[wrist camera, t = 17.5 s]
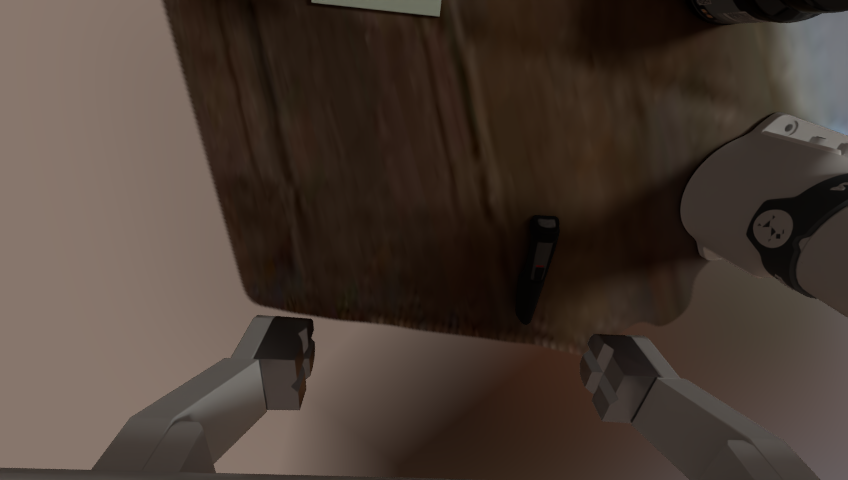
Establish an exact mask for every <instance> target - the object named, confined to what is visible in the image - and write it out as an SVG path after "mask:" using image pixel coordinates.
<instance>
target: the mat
mask: <svg viewBox="0 0 848 480" xmlns="http://www.w3.org/2000/svg"><path fill="white" fill-rule="evenodd" d="M311 2H312V3H319V4H328V5H337V6H346V7H355V8H364V9H374V10H383V11H392V12H401V13H410V14H419V15H428V16H437V17H439V16H440V6H441V0H311Z"/></svg>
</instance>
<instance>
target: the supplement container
mask: <svg viewBox="0 0 848 480" xmlns="http://www.w3.org/2000/svg"><path fill="white" fill-rule="evenodd" d="M685 2H686V4H687V6H688V8H689V9H690V11H691V12H692V13H693V14H694V15H695V16H696V17H697V18H699V19H700V20H702V21H704V22H706V23H710V24H714V25H731V24H738V23H757V22H777V23H792V22H799V21H803V20H807V19H810V18H813V17H815V16H818V15H820V14H822V13H836V12H843V11H848V0H685Z"/></svg>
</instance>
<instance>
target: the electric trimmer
mask: <svg viewBox="0 0 848 480" xmlns="http://www.w3.org/2000/svg"><path fill="white" fill-rule="evenodd" d="M530 231H531V244H530V249H529V254H528V258H527V262H526V265H525V269H524V271H523V272H521V273H520V274H519V278H518V288H517V299H516V315H517V317H518V318H519V320H520V321H521V322H522V323H523V324H525V325H527V324H529V323H530V322H531V319H532V316H533V313H534V310H535V308H536V305H537V302H538V299H539V296H540V293H541V290H542V287H543V284H544V281H545V277H546V274H547V272H548V269H549V266H550V263H551V260H552V257H553V254H554V251H555V247H556V244H557V240H558V236H559V232H560V230H559V219H558V218H557V217H555V216H539V215H535V216H534V217H533V220H531V221H530Z"/></svg>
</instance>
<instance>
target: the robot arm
mask: <svg viewBox="0 0 848 480" xmlns="http://www.w3.org/2000/svg"><path fill="white" fill-rule="evenodd" d="M786 126H787V127H786ZM785 127H786V128H785ZM680 213H681V220H682V223H683V225H684V227H685V229H686V230H687V232H688V233H689V234H690V235H691V236H692V237H693V238H694V239H695V240H696V242H697V246H698V251H699V254H700V255H701V256H702V257H703V258H705V259H707V260H720V259H724V260H726V261H727V262H729V263H731V264H733V265H734V266H736V267H738V268H739V269H741V270H743V271H745V272H746V273H748V274H750V275H752V276H754V277H756V278H760V279H761V278H771V277H775V278H776V279H778V280H779V281H780V282H781V283H782V284H784V285H785V286H787V287H789V288H791V289H792V290H795V291H797V292H799V293H801V294H803V295H805V296H807V297H810V298H815V299H819V300H820V301H822V302H824V303H825V304H827V305H828V306H830V307H832V308H833V309H835V310H837V311H838V312H839V313H841V314H843V315H844V316H846V317H848V136H847V135H844V134H841V133H839V132H836V131H833V130H830V129H827V128H825V127H822V126H819V125H816V124H813V123H811V122H808V121H805V120H802V119H800V118H797V117H794V116H791V115H788V114H785V113H782V112H778V113H775V114H772V115H771V116H769V117H768V118H767V119H765V120H764V121H763V122H762V123H760V124H759V125H758V126H757V127H756V128H755V129H754V130H753V131H751V132H750V133H748V134H746V135H744V136H742V137H740V138H738V139H736V140H734V141H732V142H730V143H728V144H726V145H725V146H723V147H721V148H720V149H719V150H717V151H716V152H714V153H713V154H712V155H711V156H710V157H709V158H707V159H706V160H705V161H704V162H703V163H702V164H701V166H700V167H699V168H698V169H697V170H696V172H695V173H694V174H693V176H692V177H691V179H690V181H689V182H688V184H687V186H686V188H685V191H684V193H683V196H682V200H681V207H680ZM313 331H314V327H313V320H312V319H307V318H294V317H293V318H292V317H281V316H276V317H275V316H263V315H257V316H256V317H255V318H253V320H252V322H251V323H250V325H249V327H248V329H247V330H246V332H245V334H244V336H243V337H242V339H241V341H240V343H239V344H238V346H237V348H236V350H235V351H234V353H233V355H232V357H231V358H224V359H223V360H221V361H219V362H218V363H216V364H215V365H213V366H211V367H210V368H208V369H207V370H205V371H204V372H202V373H200V374H199V375H197V376H196V377H194V378H192V379H191V380H189V381H188V382H186V383H184V384H183V385H181V386H180V387H178V388H177V389H175V390H173V391H172V392H170V393H169V394H167V395H166V396H164V397H162V398H161V399H159V400H158V401H156V402H154V403H153V404H152V405H150V406H148V407H146V408H145V409H143V410H142V411H140V412H138V413H137V414H135V415H134V416H132V417H131V418H130V419H129V420H128V421H127V423H126V424H125V425H124V427H123V428H122V429H121V431H120V432H119V433H118V435H117V436H116V437H115V439H114V440H113V441H112V443H111V444H110V445H109V447H108V448H107V449H106V451H105V452H104V453H103V455H102V456H101V457H100V459H99V460H98V462H97V463H96V464H95V465H94V467H93V468H92V470H68V469H67V470H66V469H27V468H0V480H469V479H430V478H390V477H350V476H311V475H271V474H270V475H269V474H230V473H229V474H228V473H216V472H215V468H214V465H213V464H214V463H215V462H216V461H217V460H218V459H219V458H220V457H221V456H222V455H223V454H224V453H225V452H226V451H227V450H228V449H229V448H230V447H231V446H232V445H233V444H234V443H236V442H237V441H238V440H239V438H241V437H242V436H243V435H244V434H245V433H246V431H248V430H249V429H250V428H251V427H252V426H253V425H254V424H255V423H256V422H257V421H258V420H259V419H260V418H261V417H262V416H263V415H264V414H265V413H266V412H267V410H300V407H301V404H302V401H303V398H304V395H305V391H306V381H305V380H306V379H307V378H308V377H309V376H310V375H311V371H312V368H313V362H314V356H315V342H314V341H313V340H312V339H311V337H312V334H313ZM588 346H589V348H590V350H589V351H588V352H586V353H585V354H584V355H583V356H582V359H581V362H580V375H581V379H582V381H583V384H584V386H585V388H587V389H588V390H589V391H590V392H592V393H593V394H594V395H593V398H592V402H593V404H594V406H595V408H596V410H597V412H598V414H599V416H600V418H601V420H602V421H607V422H622V423H632V426H633V427H635V429H637V431H639V432H640V433H641V434H642V435H643V436H644V437H645V438H646V439H647V440H648V441H649V442H650V443H651V444H652V445H653V446H654V447H655V448H657V449H658V450H659V451H660V452H661V453H662V454H663V455H664V456H665V457H666V458H667V459H668V460H669V461H670V462H671V463H672V464H673V465H674V466H676V467H677V468H678V469H679V470H680V471H681V472H682V473H683V474H684V475H685V476H686V477H687V478H688V479H689V480H820V479H819V478H818V477H817V476H816V475H815V473H814V472H813V471H812V470H811V469H810V468H809V467H808V466H807V465H806V464H805V463H804V462H803V460H802V459H801V458H800V457H799V456H798V455H797V454H796V453H795V452H794V451H793V450H792V449H791V447H790V446H789V445H788V444H787V443H786V442H785V441H784V440H782V439H781V438H779V437H777V436H776V435H774V434H773V433H771V432H770V431H768V430H766V429H765V428H763V427H762V426H760V425H758V424H757V423H755V422H754V421H752V420H750V419H749V418H747V417H746V416H744V415H742V414H741V413H739V412H738V411H736V410H734V409H733V408H731V407H729V406H728V405H726V404H725V403H723V402H722V401H720V400H718V399H717V398H715V397H714V396H712V395H711V394H709V393H707V392H706V391H704V390H703V389H701V388H699V387H698V386H696V385H695V384H693V383H691V382H689V381H688V380H687V379H680V377H679V376H678V375H677V374H676V372H675V371H674V370H673V369H672V367H671V366H670V365H669V364H668V362H667V361H666V360H665V359H664V357H663V356H662V355H661V354H660V352H659V351H658V350H657V348H656V347H655V346H654V345H653V343H652V342H651V341H650V340H649V339H648V338H647V337H645V336H637V335H627V336H625V335H607V334H593V335H592V336H591V337H590V339H589V341H588Z"/></svg>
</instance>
